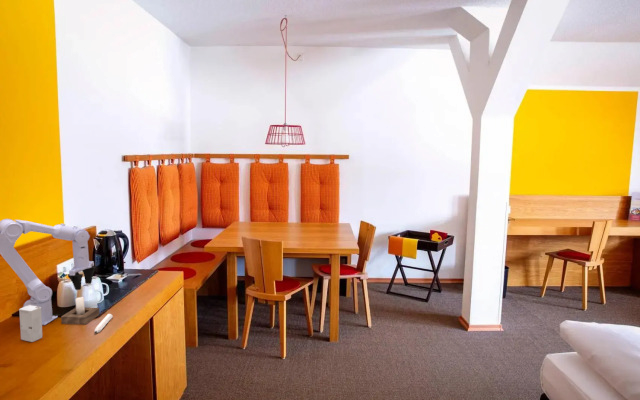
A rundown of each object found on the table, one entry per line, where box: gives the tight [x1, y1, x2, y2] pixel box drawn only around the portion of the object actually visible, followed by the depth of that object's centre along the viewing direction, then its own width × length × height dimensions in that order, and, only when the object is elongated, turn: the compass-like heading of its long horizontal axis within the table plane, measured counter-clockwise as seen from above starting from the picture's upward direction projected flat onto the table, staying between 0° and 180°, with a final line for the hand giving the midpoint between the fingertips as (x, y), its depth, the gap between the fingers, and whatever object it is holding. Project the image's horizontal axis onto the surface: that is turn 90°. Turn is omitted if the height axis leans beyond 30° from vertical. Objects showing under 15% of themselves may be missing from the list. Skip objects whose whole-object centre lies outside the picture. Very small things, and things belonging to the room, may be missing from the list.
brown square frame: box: [60, 306, 100, 326], centre depth 177 cm, size 10×10×3 cm
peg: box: [75, 296, 86, 315], centre depth 177 cm, size 3×3×9 cm
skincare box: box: [18, 305, 43, 343], centre depth 159 cm, size 6×4×12 cm
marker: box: [94, 313, 114, 334], centre depth 171 cm, size 3×2×16 cm
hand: (83, 286), depth 186 cm, fingers open, 7 cm apart
